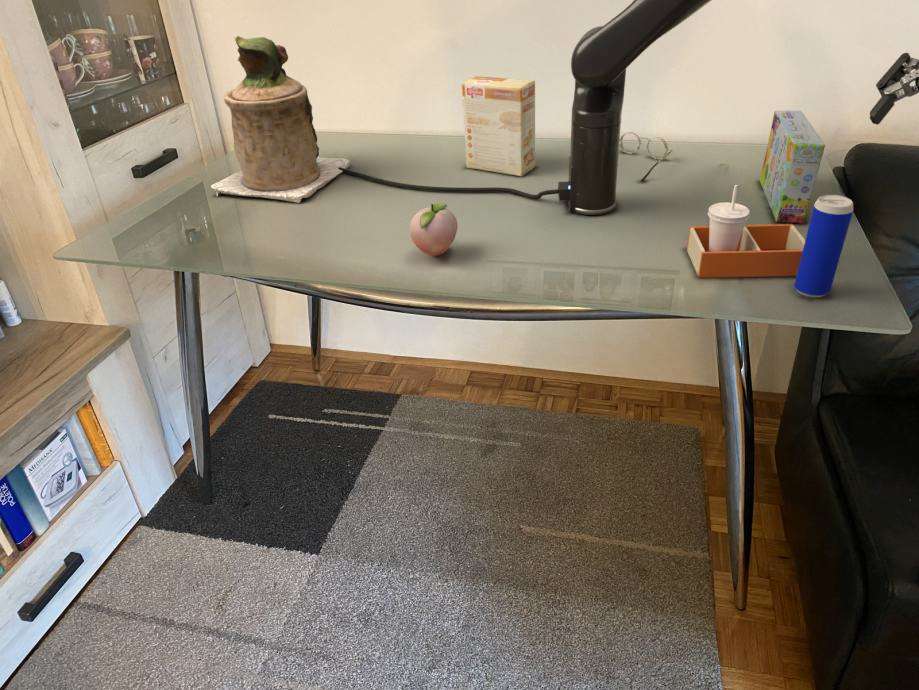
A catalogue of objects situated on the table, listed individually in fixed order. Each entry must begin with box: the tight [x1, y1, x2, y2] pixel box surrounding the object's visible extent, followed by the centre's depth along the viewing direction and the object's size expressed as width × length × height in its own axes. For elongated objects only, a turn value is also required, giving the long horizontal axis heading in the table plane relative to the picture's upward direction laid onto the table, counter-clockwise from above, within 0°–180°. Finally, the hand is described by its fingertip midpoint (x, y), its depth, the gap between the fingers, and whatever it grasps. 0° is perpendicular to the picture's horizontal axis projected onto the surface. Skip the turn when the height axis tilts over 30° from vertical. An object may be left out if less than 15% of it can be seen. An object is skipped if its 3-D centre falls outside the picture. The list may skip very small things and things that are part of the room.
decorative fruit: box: [409, 202, 459, 256], centre depth 123 cm, size 9×8×10 cm
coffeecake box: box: [461, 75, 536, 177], centre depth 155 cm, size 15×7×20 cm, turn 58°
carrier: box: [685, 223, 806, 279], centre depth 115 cm, size 17×10×4 cm, turn 86°
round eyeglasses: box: [619, 131, 673, 182], centre depth 156 cm, size 17×15×5 cm
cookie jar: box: [210, 35, 351, 204], centre depth 153 cm, size 25×25×32 cm
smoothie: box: [707, 184, 751, 252], centre depth 113 cm, size 6×6×14 cm
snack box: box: [759, 110, 826, 224], centre depth 132 cm, size 21×6×15 cm, turn 168°
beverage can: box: [793, 194, 854, 299], centre depth 104 cm, size 5×5×15 cm
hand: (899, 128), depth 99 cm, fingers open, 8 cm apart
